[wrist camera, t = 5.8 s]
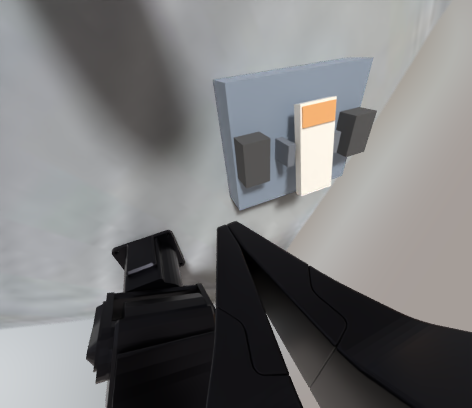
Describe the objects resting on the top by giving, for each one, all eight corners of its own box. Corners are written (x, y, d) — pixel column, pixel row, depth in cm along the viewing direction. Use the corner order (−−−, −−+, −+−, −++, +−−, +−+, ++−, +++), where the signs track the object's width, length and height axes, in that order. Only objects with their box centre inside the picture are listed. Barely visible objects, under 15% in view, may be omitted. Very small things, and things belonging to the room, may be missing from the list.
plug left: (260, 171, 20) (270, 180, 18) (237, 178, 19) (246, 188, 18) (258, 131, 17) (270, 138, 16) (233, 137, 17) (242, 145, 15)
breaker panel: (325, 166, 27) (356, 183, 23) (230, 196, 24) (248, 222, 20) (346, 57, 20) (398, 57, 16) (212, 79, 16) (236, 86, 12)
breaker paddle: (324, 183, 20) (331, 186, 20) (296, 193, 20) (302, 196, 19) (329, 96, 17) (338, 96, 16) (293, 104, 16) (301, 104, 15)
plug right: (348, 145, 22) (364, 151, 21) (331, 150, 22) (345, 157, 20) (358, 106, 20) (376, 110, 18) (339, 111, 19) (356, 115, 18)
